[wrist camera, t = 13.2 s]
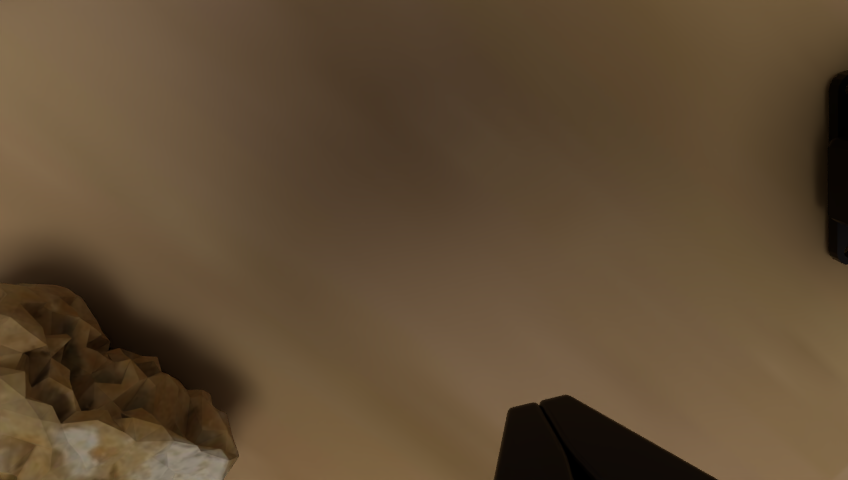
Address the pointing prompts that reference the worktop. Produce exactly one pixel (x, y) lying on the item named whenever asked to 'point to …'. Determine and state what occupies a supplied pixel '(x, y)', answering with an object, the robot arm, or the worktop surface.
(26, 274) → the worktop surface
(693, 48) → the worktop surface
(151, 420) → the rock
